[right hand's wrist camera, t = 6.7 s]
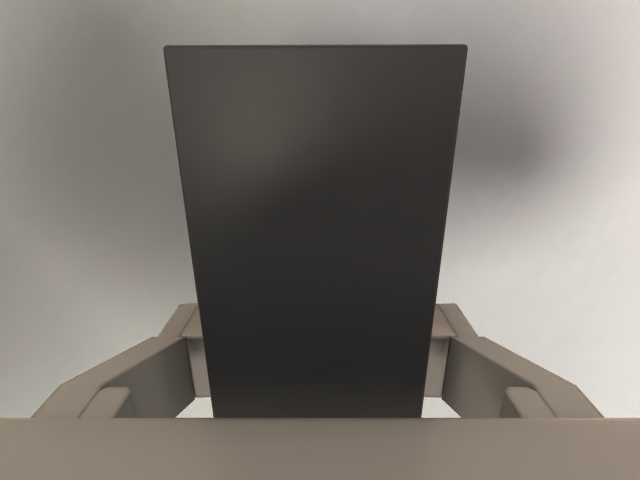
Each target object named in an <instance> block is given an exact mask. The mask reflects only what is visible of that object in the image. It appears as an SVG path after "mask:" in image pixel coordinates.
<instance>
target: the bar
mask: <svg viewBox="0 0 640 480" xmlns="http://www.w3.org/2000/svg"><path fill="white" fill-rule="evenodd" d="M467 50H468V48H467V45H465V44H417V45H166V46H164V49H163V51H164V58H165V65H166V73H167V80H168V87H169V95H170V102H171V109H172V117H173V124H174V131H175V138H176V146H177V153H178V160H179V168H180V175H181V182H182V190H183V197H184V204H185V212H186V219H187V226H188V234H189V241H190V248H191V255H192V263H193V270H194V277H195V285H196V292H197V299H198V307H199V314H200V321H201V329H202V336H203V343H204V350H205V358H206V365H207V372H208V380H209V387H210V394H211V402H212V409H213V416H214V418H421V415H422V407H423V399H424V391H425V383H426V375H427V367H428V359H429V351H430V343H431V336H432V328H433V320H434V312H435V304H436V296H437V288H438V280H439V272H440V264H441V256H442V248H443V240H444V233H445V225H446V217H447V209H448V201H449V193H450V185H451V177H452V169H453V161H454V153H455V145H456V137H457V129H458V122H459V114H460V106H461V98H462V90H463V82H464V74H465V66H466V58H467Z"/></svg>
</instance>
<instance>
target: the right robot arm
mask: <svg viewBox="0 0 640 480" xmlns="http://www.w3.org/2000/svg"><path fill="white" fill-rule="evenodd" d="M194 397H211V394H210V387H209V380H208V372H207V365H206V358H205V350H204V343H203V336H202V329H201V321H200V314H199V307H198V303H186V304H180V305H179V307H178V308H177V309H176V311H175V312H174V314H173V315H172V317H171V318H170V320H169V321H168V323H167V324H166V326H165V327H164V329H163V330H162V331H161V333H160V334H159V336H158V337H151V338H149V339H147V340H145V341H143V342H142V343H140V344H138V345H136V346H134V347H132V348H130V349H128V350H126V351H124V352H122V353H121V354H119V355H117V356H115V357H113V358H111V359H109V360H107V361H105V362H103V363H101V364H100V365H98V366H96V367H94V368H92V369H90V370H88V371H86V372H84V373H82V374H80V375H79V376H77V377H75V378H73V379H71V380H69V381H67V382H65V383H63V384H61V385H60V386H59V387H58V388H57V389H56V390H55V391H54V392H53V393H52V395H51V396H50V397H49V398H48V399H47V400H46V401H45V402H44V403H43V405H42V406H41V407H40V408H39V409H38V410H37V411H36V412H35V413H34V414H33V416H32V417H31V418H0V480H640V418H604V417H603V415H602V414H601V413H600V412H599V411H598V410H597V409H596V407H595V406H594V405H593V404H592V403H591V402H590V401H589V400H588V398H587V397H586V396H585V395H584V394H583V393H582V392H581V390H580V389H579V388H578V387H577V386H576V385H574V384H572V383H570V382H568V381H566V380H564V379H563V378H561V377H559V376H557V375H555V374H553V373H551V372H549V371H548V370H546V369H544V368H542V367H540V366H538V365H536V364H534V363H532V362H531V361H529V360H527V359H525V358H523V357H521V356H519V355H517V354H516V353H514V352H512V351H510V350H508V349H506V348H504V347H502V346H500V345H499V344H497V343H495V342H493V341H491V340H489V339H487V338H485V337H478V335H477V334H476V332H475V331H474V329H473V328H472V326H471V325H470V323H469V322H468V320H467V319H466V317H465V316H464V314H463V313H462V312H461V310H460V309H459V307H458V306H457V304H455V303H445V304H435V312H434V320H433V328H432V336H431V343H430V351H429V359H428V367H427V375H426V383H425V391H424V397H442V400H444V401H445V402H446V403H447V404H448V405H449V406H450V407H451V408H452V409H453V410H454V411H455V412H456V413H457V414H458V415H459V416H461V417H462V418H175V417H176V416H177V415H178V414H179V413H180V412H182V411H183V410H184V409H185V408H186V407H187V406H188V405H189V404H190V403H191V402H192V401H193V400H194V399H195V398H194Z"/></svg>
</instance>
